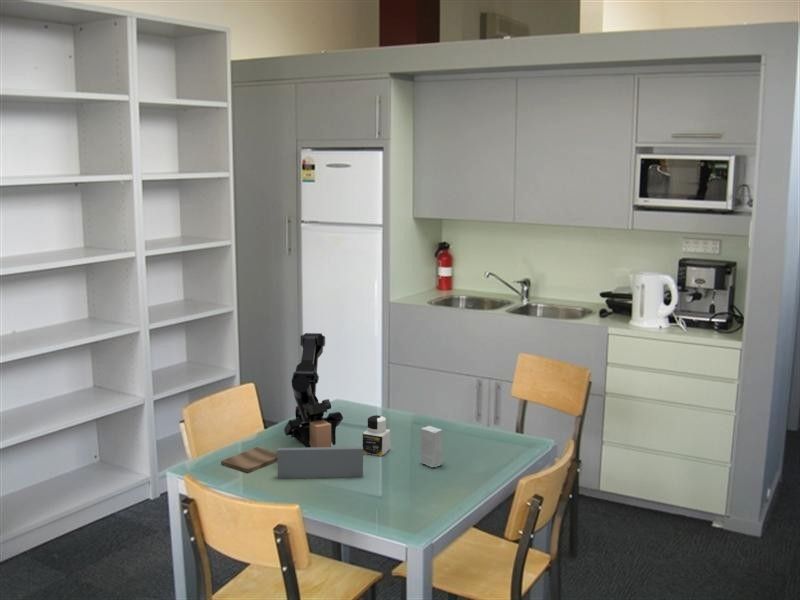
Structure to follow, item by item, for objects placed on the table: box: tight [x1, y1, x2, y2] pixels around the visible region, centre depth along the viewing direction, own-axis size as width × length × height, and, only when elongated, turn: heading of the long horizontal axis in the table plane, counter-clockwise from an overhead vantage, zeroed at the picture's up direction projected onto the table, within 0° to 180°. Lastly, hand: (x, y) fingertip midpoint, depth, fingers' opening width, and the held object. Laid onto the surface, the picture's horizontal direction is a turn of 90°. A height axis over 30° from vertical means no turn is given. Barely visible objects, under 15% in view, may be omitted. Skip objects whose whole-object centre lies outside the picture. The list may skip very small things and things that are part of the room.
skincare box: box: [419, 425, 444, 466], centre depth 270 cm, size 6×4×12 cm
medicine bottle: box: [362, 414, 391, 457], centre depth 281 cm, size 7×7×12 cm
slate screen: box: [276, 446, 364, 479], centre depth 261 cm, size 6×26×9 cm, turn 95°
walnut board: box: [220, 447, 277, 474], centre depth 271 cm, size 16×12×1 cm
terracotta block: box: [309, 420, 332, 447], centre depth 267 cm, size 5×5×14 cm
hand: (322, 447), depth 266 cm, fingers open, 8 cm apart
